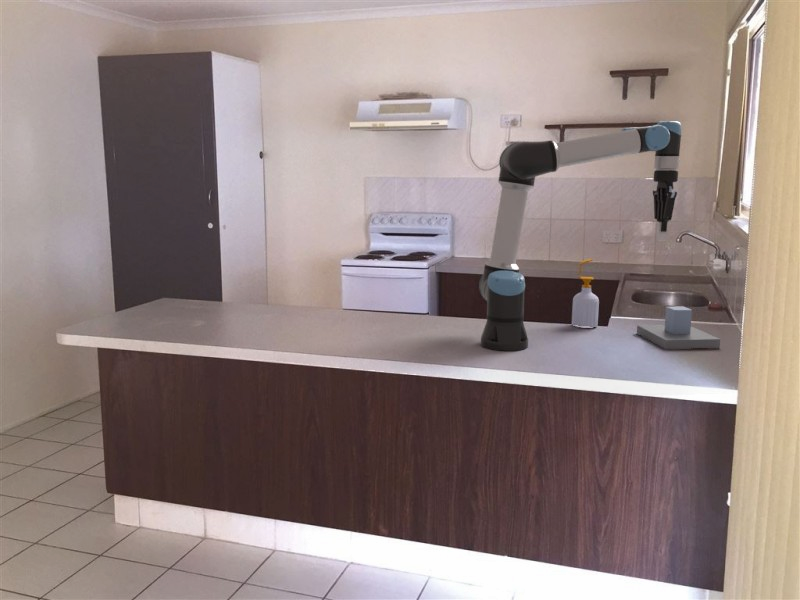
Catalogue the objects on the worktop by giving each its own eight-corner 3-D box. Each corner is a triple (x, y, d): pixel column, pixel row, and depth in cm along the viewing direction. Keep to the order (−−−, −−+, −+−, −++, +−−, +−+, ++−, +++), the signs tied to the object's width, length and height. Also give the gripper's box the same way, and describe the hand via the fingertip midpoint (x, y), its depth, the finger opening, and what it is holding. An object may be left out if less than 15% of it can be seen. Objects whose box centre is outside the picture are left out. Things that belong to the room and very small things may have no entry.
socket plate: (665, 349, 232) (666, 340, 232) (636, 333, 254) (637, 325, 253) (719, 348, 234) (720, 339, 234) (686, 332, 256) (686, 324, 255)
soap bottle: (598, 329, 260) (602, 260, 256) (571, 328, 262) (575, 259, 257) (596, 324, 269) (600, 257, 264) (571, 323, 270) (574, 256, 266)
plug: (672, 341, 241) (674, 310, 239) (663, 337, 247) (666, 306, 245) (689, 341, 241) (692, 309, 239) (680, 336, 247) (683, 306, 245)
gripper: (686, 170, 235) (681, 243, 240) (668, 169, 248) (663, 239, 252) (664, 169, 234) (659, 243, 239) (646, 169, 247) (642, 239, 252)
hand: (661, 241), depth 246 cm, fingers closed
